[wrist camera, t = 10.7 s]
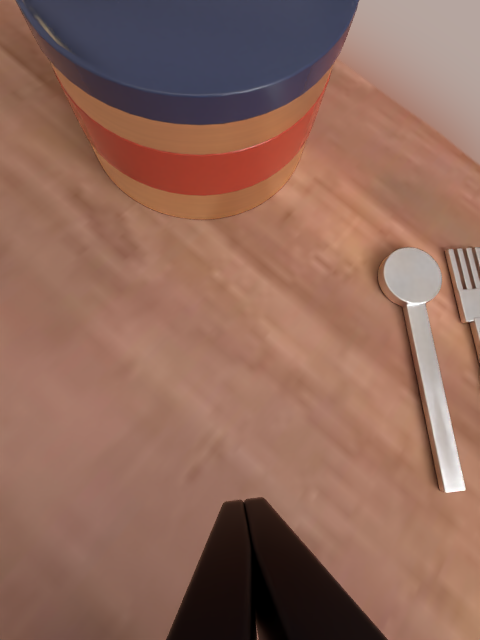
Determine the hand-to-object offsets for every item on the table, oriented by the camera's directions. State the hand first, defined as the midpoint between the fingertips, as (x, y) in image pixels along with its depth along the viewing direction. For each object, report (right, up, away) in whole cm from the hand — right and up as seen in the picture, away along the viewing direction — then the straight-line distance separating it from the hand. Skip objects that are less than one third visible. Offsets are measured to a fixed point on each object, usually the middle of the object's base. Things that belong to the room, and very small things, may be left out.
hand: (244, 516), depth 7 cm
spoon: (+11, +2, +13) cm, 17 cm away
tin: (-3, +17, +16) cm, 23 cm away
